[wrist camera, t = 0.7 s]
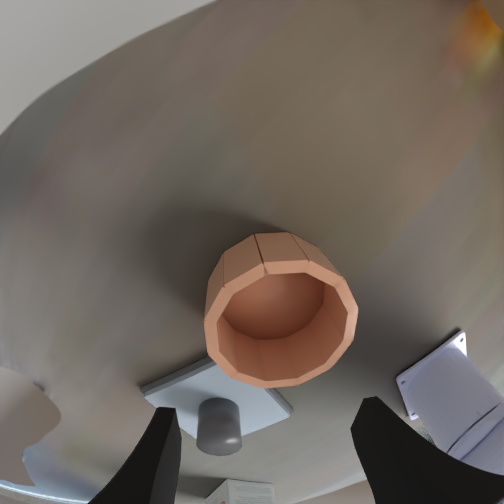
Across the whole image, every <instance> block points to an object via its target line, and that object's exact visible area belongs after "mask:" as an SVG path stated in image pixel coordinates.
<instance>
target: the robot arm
mask: <svg viewBox="0 0 504 504" xmlns="http://www.w3.org/2000/svg"><path fill="white" fill-rule="evenodd" d="M396 381H397V384H398V387H399V389H400V392H401V395H402V398H403V401H404V403H405V406H406V409H407V412H408V415H409V418H410V420H414V419H416V418H418V417H419V418H420V419H421V421H422V423H423V424H424V426H425V428H426V429H427V431H428V433H429V434H430V436H431V438H432V439H433V441H434V443H435V444H436V446H437V447H436V446H434V445H433V444H431V443H430V442H429V441H427V440H426V439H425V438H423V437H422V436H421V435H420V434H418V433H417V432H416V431H415V430H413V429H412V428H411V427H410V426H409V425H408V424H406V423H405V422H404V421H403V420H402V419H401V418H400V417H399V416H398V415H397V414H395V413H394V412H393V411H392V410H391V409H390V408H389V407H388V406H387V405H386V404H385V403H384V402H383V401H381V400H380V399H379V398H378V397H377V396H375V397H370V398H364V399H363V401H362V404H361V406H360V408H359V411H358V413H357V415H356V417H355V420H354V422H353V424H352V426H351V428H350V429H351V433H352V438H353V442H354V446H355V449H356V452H357V455H358V457H359V460H360V462H361V465H362V467H363V469H364V472H365V474H366V477H367V479H368V482H369V484H370V487H371V489H372V492H373V495H374V499H375V503H376V504H504V398H503V396H502V395H501V394H500V393H499V392H498V391H497V389H496V388H495V387H494V386H493V385H492V384H491V383H490V381H489V380H488V379H487V378H486V377H485V376H484V375H483V374H482V373H481V371H480V370H479V369H478V368H477V367H476V366H475V365H474V364H473V363H472V362H471V361H470V360H469V359H468V357H467V355H466V339H465V332H464V331H462V330H461V331H459V332H458V333H457V334H455V335H454V336H453V337H452V338H450V339H449V340H448V341H446V342H445V343H444V344H443V345H441V346H440V347H439V348H437V349H436V350H435V351H433V352H432V353H430V354H429V355H428V356H426V357H425V358H423V359H422V360H421V361H419V362H418V363H416V364H415V365H413V366H412V367H410V368H409V369H407V370H406V371H404V372H403V373H401V374H400V375H398V377H397V378H396ZM181 439H182V438H181V433H180V428H179V423H178V418H177V413H176V408H171V407H158V408H157V409H156V411H155V413H154V416H153V418H152V420H151V422H150V423H149V425H148V427H147V429H146V431H145V432H144V434H143V436H142V438H141V439H140V441H139V442H138V444H137V446H136V447H135V449H134V450H133V452H132V453H131V455H130V456H129V457H128V459H127V460H126V462H125V463H124V464H123V466H122V467H121V468H120V470H119V471H118V472H117V473H116V475H115V476H114V477H113V478H112V479H111V481H110V482H109V483H108V484H107V485H106V486H105V487H104V488H103V489H102V490H101V491H100V492H99V493H98V494H97V495H96V496H95V497H94V498H93V499H92V500H91V501H90V502H89V503H88V504H174V500H175V493H176V487H177V480H178V474H179V468H180V461H181Z"/></svg>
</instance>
